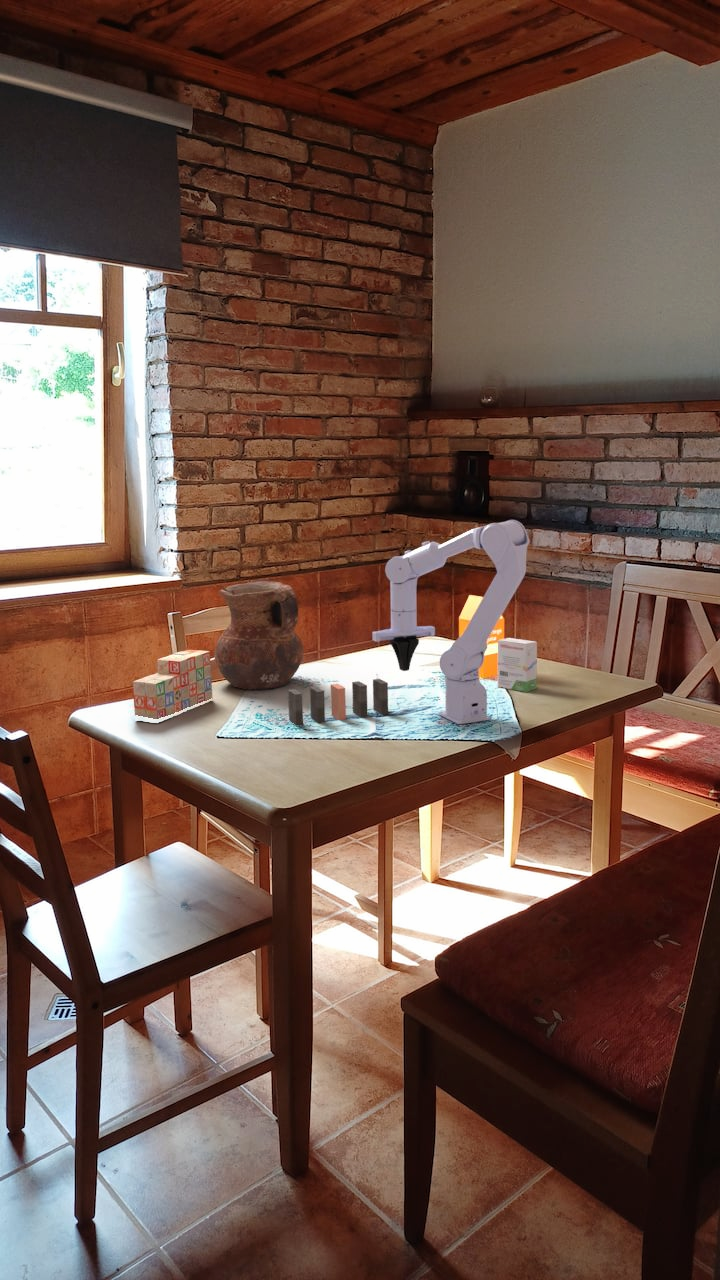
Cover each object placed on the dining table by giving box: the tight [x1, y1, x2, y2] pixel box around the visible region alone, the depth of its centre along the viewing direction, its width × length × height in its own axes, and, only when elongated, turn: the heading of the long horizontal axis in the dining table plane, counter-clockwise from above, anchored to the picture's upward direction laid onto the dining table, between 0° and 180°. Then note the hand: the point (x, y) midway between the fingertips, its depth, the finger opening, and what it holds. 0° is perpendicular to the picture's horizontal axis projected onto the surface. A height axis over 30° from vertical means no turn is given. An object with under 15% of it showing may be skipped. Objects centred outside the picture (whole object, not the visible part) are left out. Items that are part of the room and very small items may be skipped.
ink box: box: [497, 637, 538, 693], centre depth 235 cm, size 8×5×12 cm, turn 47°
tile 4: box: [287, 688, 304, 726], centre depth 210 cm, size 4×2×7 cm, turn 23°
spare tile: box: [330, 683, 347, 721], centre depth 214 cm, size 4×2×7 cm, turn 23°
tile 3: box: [309, 686, 326, 724], centre depth 212 cm, size 4×2×7 cm, turn 23°
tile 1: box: [372, 678, 389, 715], centre depth 217 cm, size 4×2×7 cm, turn 23°
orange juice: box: [458, 594, 505, 679], centre depth 250 cm, size 8×9×20 cm
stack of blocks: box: [132, 649, 213, 719], centre depth 221 cm, size 21×6×12 cm, turn 155°
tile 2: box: [351, 681, 368, 718], centre depth 215 cm, size 4×2×7 cm, turn 23°
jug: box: [214, 580, 304, 690], centre depth 244 cm, size 22×21×25 cm
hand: (404, 669), depth 219 cm, fingers closed
